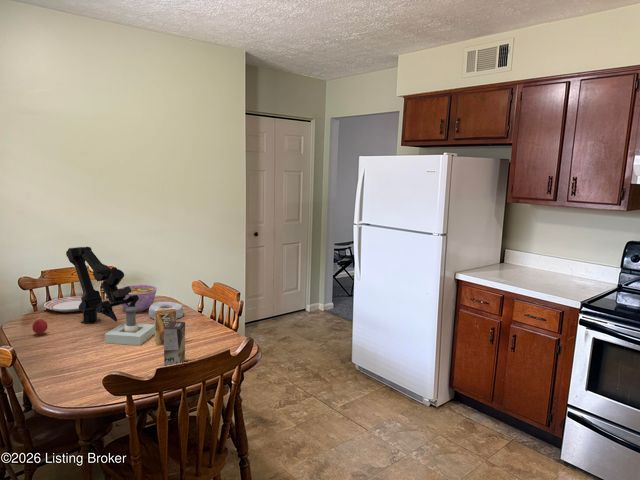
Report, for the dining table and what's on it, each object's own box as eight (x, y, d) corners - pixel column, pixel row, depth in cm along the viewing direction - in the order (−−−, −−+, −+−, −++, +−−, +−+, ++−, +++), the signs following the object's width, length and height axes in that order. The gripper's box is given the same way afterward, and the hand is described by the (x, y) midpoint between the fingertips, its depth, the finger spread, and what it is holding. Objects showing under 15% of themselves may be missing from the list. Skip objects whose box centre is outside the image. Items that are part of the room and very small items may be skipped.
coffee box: (180, 368, 173) (180, 329, 171) (163, 368, 173) (163, 328, 170) (185, 358, 182) (185, 321, 180) (169, 358, 182) (169, 321, 179)
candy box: (175, 339, 203) (174, 307, 201) (176, 342, 199) (176, 309, 197) (154, 341, 199) (154, 308, 197) (155, 344, 195) (155, 311, 193)
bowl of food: (123, 304, 251) (122, 284, 249) (159, 304, 254) (159, 284, 253) (113, 315, 231) (112, 294, 230) (153, 315, 235) (153, 294, 233)
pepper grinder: (123, 336, 203) (122, 307, 201) (137, 334, 206) (136, 305, 204) (125, 340, 198) (124, 310, 196) (139, 338, 201) (138, 309, 199)
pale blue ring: (150, 311, 241) (150, 301, 240) (183, 310, 246) (183, 300, 245) (147, 322, 224) (147, 310, 223) (183, 320, 229) (183, 309, 228)
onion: (40, 337, 198) (39, 320, 197) (29, 336, 199) (28, 319, 198) (50, 333, 203) (49, 316, 202) (40, 331, 204) (39, 315, 203)
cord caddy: (123, 330, 211) (123, 322, 210) (155, 332, 210) (155, 324, 209) (104, 342, 195) (104, 334, 194) (139, 345, 194) (139, 336, 193)
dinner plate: (50, 302, 250) (50, 296, 250) (103, 299, 260) (103, 293, 259) (38, 317, 225) (38, 310, 224) (98, 313, 235) (98, 307, 234)
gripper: (99, 285, 196) (113, 314, 192) (136, 278, 211) (151, 305, 207) (90, 298, 201) (104, 327, 197) (127, 290, 217) (141, 317, 212)
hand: (126, 318), depth 203 cm, fingers open, 9 cm apart
